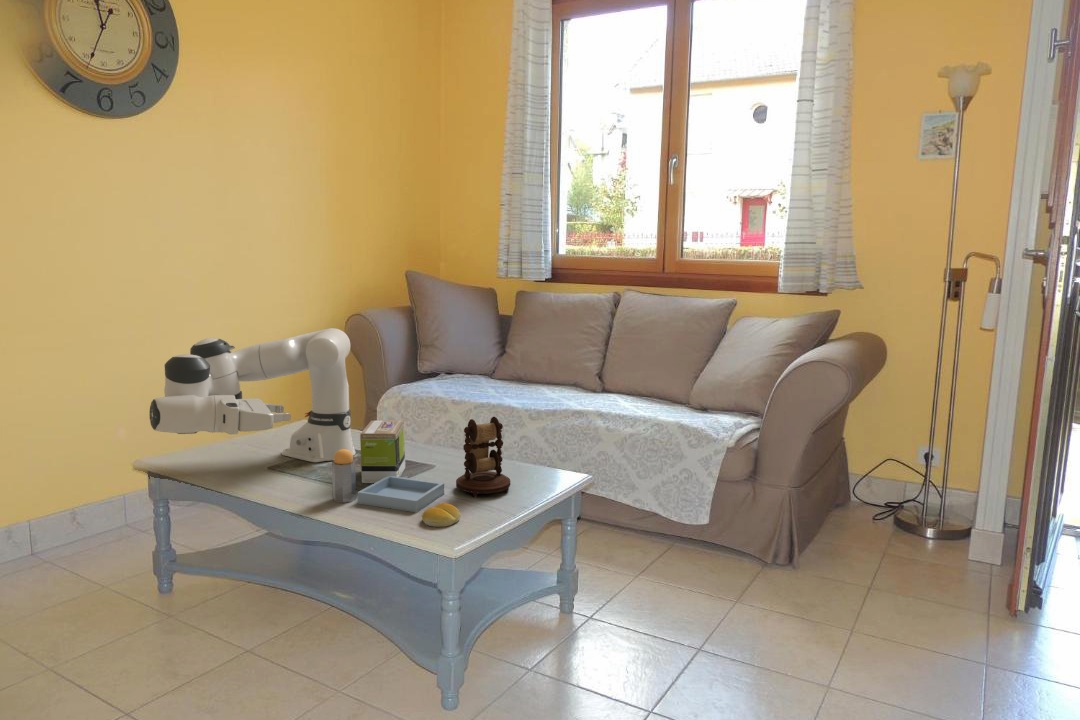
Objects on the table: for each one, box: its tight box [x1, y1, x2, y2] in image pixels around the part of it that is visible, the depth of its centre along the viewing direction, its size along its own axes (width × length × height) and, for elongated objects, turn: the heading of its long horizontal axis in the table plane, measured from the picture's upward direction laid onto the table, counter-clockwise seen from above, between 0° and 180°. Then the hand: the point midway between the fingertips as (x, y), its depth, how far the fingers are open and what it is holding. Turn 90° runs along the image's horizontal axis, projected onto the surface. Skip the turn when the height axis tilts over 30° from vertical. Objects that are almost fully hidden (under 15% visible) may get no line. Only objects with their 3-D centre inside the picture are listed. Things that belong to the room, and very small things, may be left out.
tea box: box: [359, 420, 406, 484], centre depth 218 cm, size 15×10×15 cm, turn 1°
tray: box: [357, 476, 445, 513], centre depth 200 cm, size 17×15×3 cm
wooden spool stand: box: [455, 416, 511, 498], centre depth 207 cm, size 15×15×20 cm
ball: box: [333, 449, 354, 465], centre depth 197 cm, size 5×5×5 cm
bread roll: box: [421, 502, 461, 528], centre depth 185 cm, size 8×9×4 cm
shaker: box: [331, 459, 357, 504], centre depth 198 cm, size 5×5×10 cm
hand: (286, 412), depth 189 cm, fingers open, 8 cm apart
